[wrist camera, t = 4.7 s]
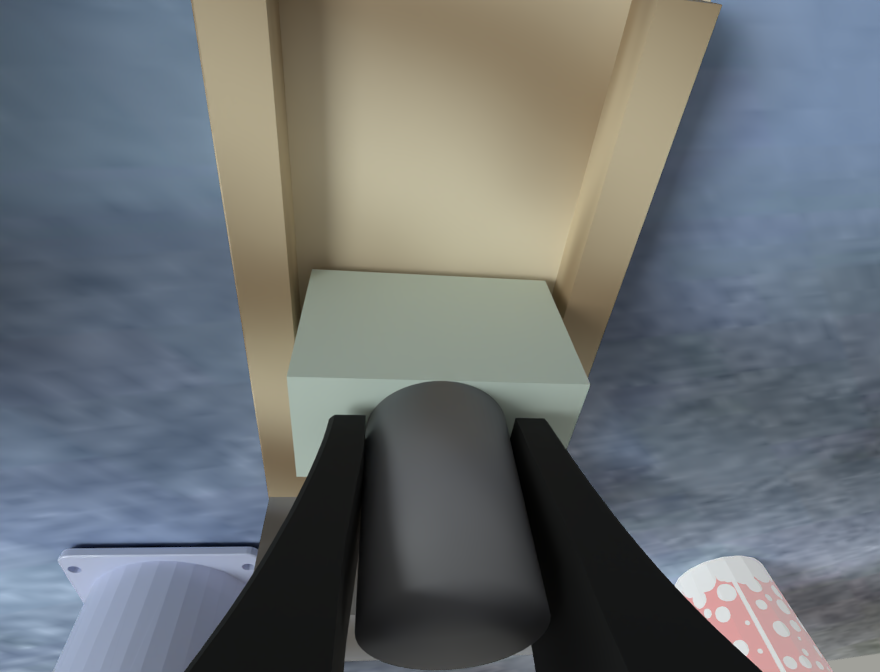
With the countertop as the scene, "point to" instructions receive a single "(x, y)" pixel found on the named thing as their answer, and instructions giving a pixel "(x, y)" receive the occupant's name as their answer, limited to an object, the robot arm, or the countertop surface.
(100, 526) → the countertop surface
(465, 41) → the base
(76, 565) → the robot arm
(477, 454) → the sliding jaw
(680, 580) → the beverage cup
